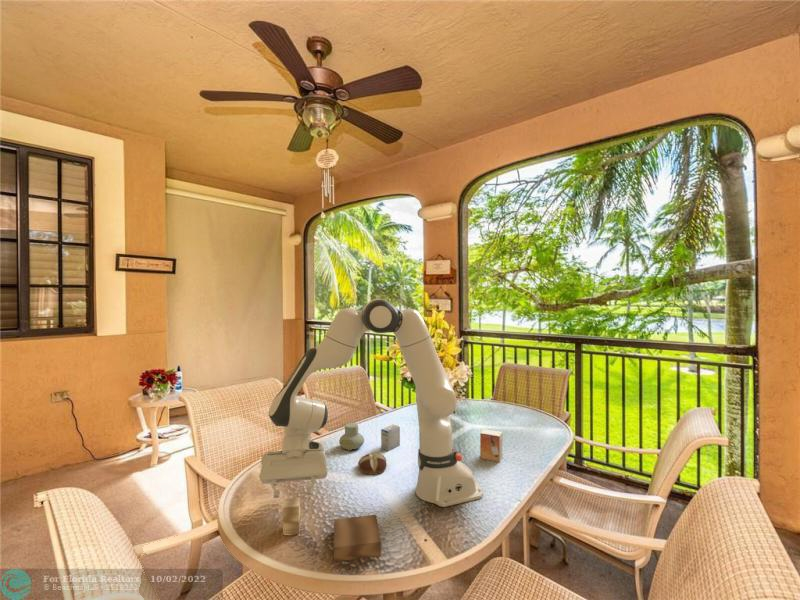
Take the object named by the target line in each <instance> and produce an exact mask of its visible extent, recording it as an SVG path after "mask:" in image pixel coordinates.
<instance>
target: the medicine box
mask: <svg viewBox="0 0 800 600" xmlns="http://www.w3.org/2000/svg"><path fill="white" fill-rule="evenodd" d="M400 428H401V427H400V426H399V425H397V424H390V425H388V426H385V427H383V428H381V430H380V438H381V440H380V441H381V442H380V443H381V446H380V447H381V449H382V450H384V449H385V451H387V450H388V451H391V450H393V449H395V448H397V447H398V446H400V445H401V429H400Z"/></svg>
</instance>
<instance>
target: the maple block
mask: <svg viewBox="0 0 800 600" xmlns="http://www.w3.org/2000/svg"><path fill="white" fill-rule="evenodd" d="M283 501H284V502H283V505H282V535H283V534H297V535H300V530H301V526H302V525H301V524H302V521H301V519H302V515H301V513H302V512H301V497H293V498H285V499H284V500H283Z"/></svg>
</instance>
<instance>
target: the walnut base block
mask: <svg viewBox="0 0 800 600" xmlns="http://www.w3.org/2000/svg"><path fill="white" fill-rule="evenodd" d="M380 556H382V541H381V536H380V529H379V523H378V518H377V514H369V515H360V516H359V515H358V516H352V517H342V518H334V519H333V562H334V563H336V562H341V561H342V562H343V561H347V560H348V561H349V560H356V559H357V560H358V559H365V558H373V557H380Z"/></svg>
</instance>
